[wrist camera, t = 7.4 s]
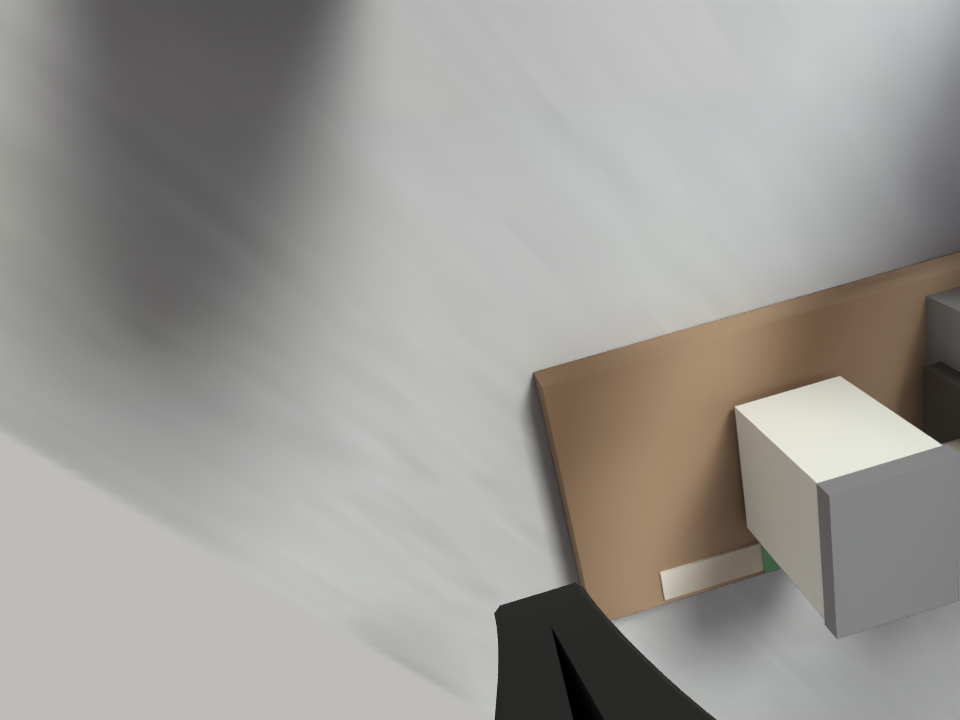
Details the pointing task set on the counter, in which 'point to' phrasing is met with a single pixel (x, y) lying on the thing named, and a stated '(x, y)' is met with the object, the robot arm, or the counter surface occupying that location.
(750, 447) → the block
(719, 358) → the frame
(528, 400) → the counter surface
